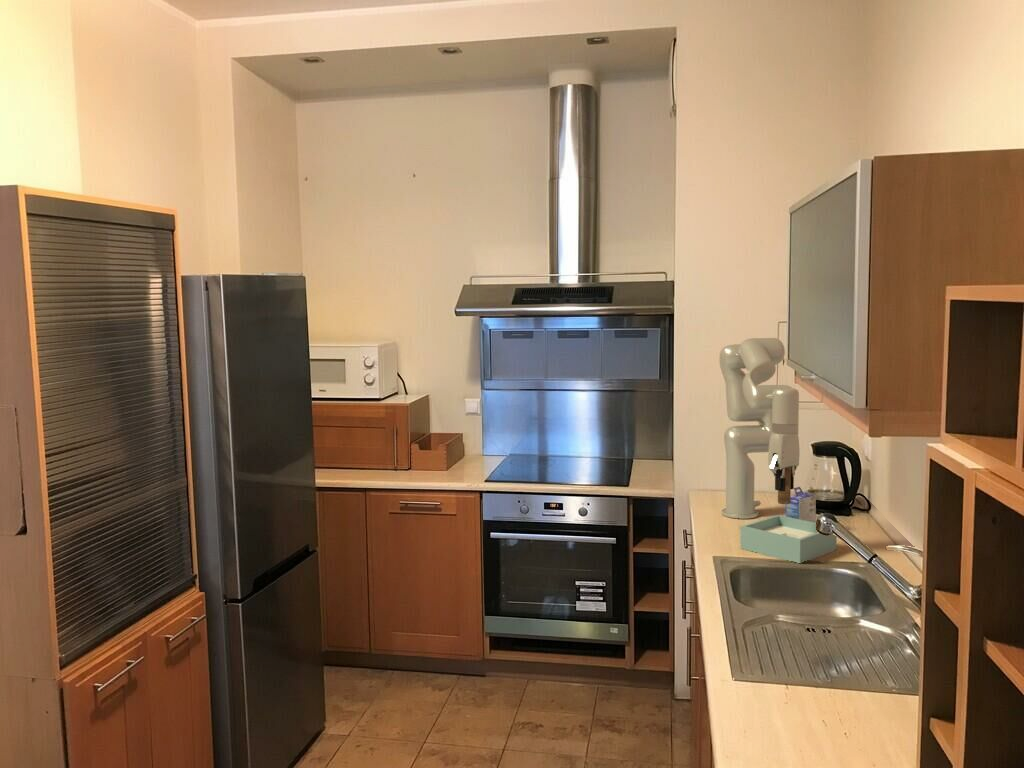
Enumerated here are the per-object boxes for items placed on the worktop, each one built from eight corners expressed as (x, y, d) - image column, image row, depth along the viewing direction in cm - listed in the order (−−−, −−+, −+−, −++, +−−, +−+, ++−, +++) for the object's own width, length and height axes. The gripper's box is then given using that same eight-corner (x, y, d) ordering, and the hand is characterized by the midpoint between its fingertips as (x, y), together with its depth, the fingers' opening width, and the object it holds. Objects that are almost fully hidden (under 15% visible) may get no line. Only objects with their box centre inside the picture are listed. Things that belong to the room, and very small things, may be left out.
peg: (782, 501, 252) (782, 462, 251) (792, 503, 249) (793, 463, 248) (775, 502, 250) (775, 463, 249) (785, 504, 247) (786, 465, 246)
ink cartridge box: (801, 527, 275) (802, 484, 273) (816, 530, 270) (817, 487, 269) (784, 532, 268) (784, 489, 267) (799, 536, 264) (800, 491, 263)
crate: (777, 536, 264) (777, 514, 264) (836, 549, 249) (836, 527, 248) (740, 548, 252) (740, 526, 251) (799, 563, 236) (800, 540, 236)
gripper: (789, 425, 256) (789, 483, 257) (757, 430, 245) (757, 491, 247) (811, 427, 250) (810, 487, 251) (780, 433, 239) (779, 495, 241)
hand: (784, 488), depth 249 cm, fingers closed on peg, 3 cm apart
